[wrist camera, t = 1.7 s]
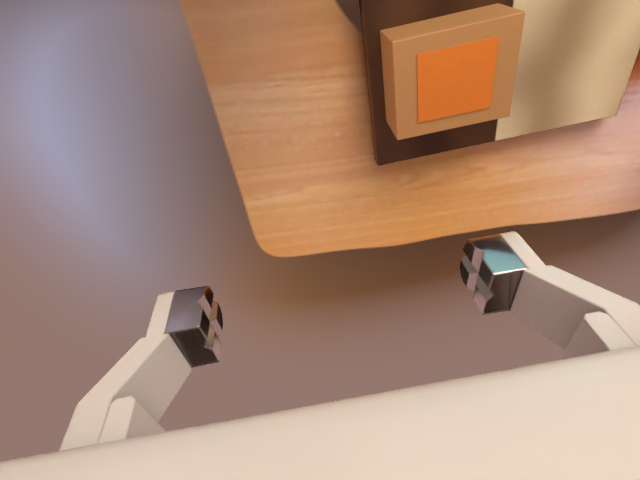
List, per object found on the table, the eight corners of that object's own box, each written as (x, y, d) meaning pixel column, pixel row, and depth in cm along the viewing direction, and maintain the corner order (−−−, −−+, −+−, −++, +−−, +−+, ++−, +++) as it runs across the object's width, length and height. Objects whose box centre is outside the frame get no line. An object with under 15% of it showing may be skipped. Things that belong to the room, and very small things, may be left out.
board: (679, -115, 22) (697, -117, 21) (606, 110, 31) (616, 115, 30) (355, -36, 23) (358, -35, 22) (374, 159, 32) (377, 166, 31)
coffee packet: (498, 2, 24) (527, 11, 22) (488, 99, 28) (510, 117, 26) (379, 30, 25) (392, 41, 22) (386, 121, 29) (397, 141, 26)
